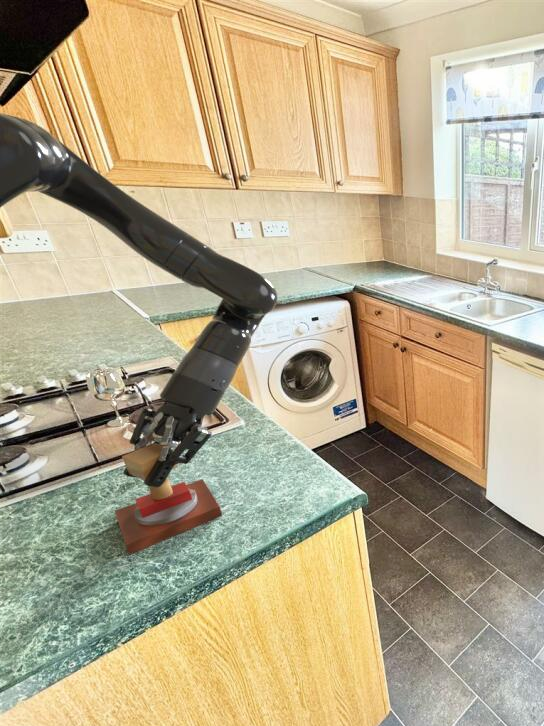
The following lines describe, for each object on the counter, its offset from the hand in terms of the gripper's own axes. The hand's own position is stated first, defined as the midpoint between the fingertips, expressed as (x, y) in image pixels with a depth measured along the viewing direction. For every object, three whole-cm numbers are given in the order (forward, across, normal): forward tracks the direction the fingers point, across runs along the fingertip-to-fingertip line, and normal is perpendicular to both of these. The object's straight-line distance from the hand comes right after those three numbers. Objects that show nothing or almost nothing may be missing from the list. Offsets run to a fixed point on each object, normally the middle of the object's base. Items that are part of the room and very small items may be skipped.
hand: (141, 480), depth 64 cm
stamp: (+4, 0, +6) cm, 7 cm away
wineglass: (-5, -41, +18) cm, 45 cm away
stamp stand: (+5, 0, +8) cm, 9 cm away
